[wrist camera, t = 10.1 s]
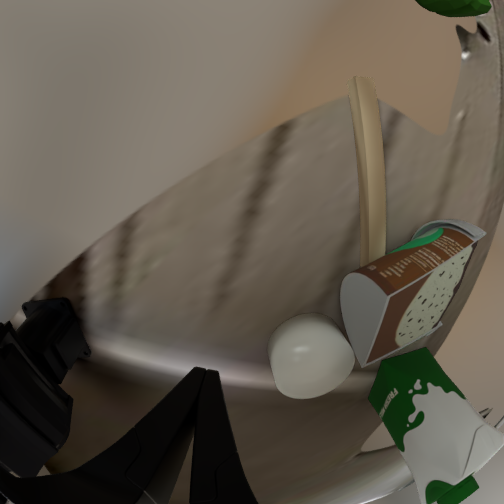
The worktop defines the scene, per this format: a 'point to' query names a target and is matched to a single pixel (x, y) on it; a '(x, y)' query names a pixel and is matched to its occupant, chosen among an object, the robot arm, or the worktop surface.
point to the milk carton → (433, 426)
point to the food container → (406, 289)
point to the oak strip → (369, 168)
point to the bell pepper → (456, 7)
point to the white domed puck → (309, 356)
